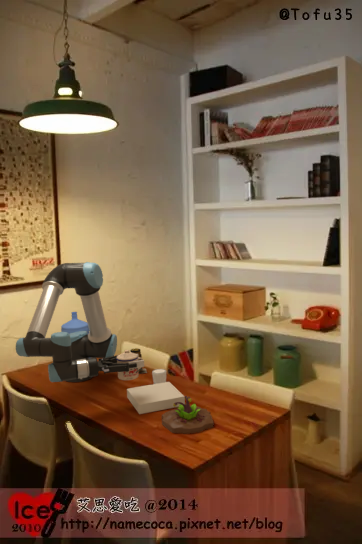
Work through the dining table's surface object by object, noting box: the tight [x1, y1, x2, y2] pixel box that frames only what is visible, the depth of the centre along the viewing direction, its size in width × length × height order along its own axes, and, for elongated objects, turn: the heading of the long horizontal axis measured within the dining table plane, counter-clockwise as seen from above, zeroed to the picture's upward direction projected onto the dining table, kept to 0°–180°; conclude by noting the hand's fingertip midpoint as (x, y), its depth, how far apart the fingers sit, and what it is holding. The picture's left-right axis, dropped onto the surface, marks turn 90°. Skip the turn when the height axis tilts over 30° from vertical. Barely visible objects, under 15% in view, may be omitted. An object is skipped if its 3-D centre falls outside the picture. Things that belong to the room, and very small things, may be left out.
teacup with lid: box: [116, 349, 144, 381], centre depth 201 cm, size 12×9×12 cm
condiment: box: [129, 347, 148, 374], centre depth 248 cm, size 7×8×12 cm
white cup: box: [151, 368, 167, 384], centre depth 227 cm, size 7×7×7 cm
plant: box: [161, 395, 215, 435], centre depth 185 cm, size 20×20×11 cm
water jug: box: [60, 311, 90, 334], centre depth 271 cm, size 16×16×28 cm
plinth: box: [126, 381, 186, 415], centre depth 208 cm, size 20×20×4 cm
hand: (141, 360), depth 202 cm, fingers closed on teacup with lid, 9 cm apart
